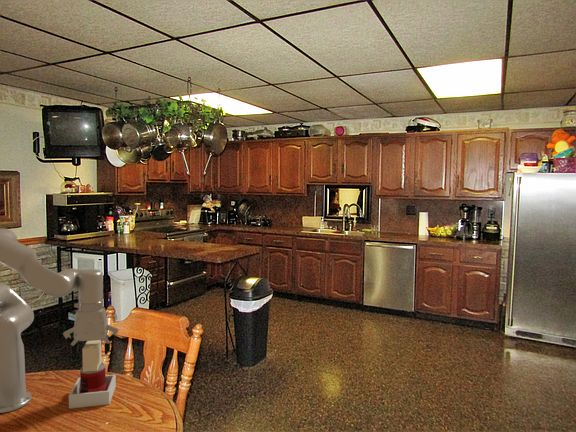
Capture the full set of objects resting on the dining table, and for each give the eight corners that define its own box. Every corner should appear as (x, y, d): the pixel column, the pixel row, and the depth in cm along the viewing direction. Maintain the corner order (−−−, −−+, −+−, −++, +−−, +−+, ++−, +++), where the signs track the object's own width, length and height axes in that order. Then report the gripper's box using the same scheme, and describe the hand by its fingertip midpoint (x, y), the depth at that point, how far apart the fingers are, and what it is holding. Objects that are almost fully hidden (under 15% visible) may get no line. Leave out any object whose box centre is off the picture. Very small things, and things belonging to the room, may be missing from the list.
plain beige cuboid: (82, 371, 136) (82, 348, 135) (87, 362, 143) (87, 340, 142) (97, 370, 137) (96, 347, 136) (101, 361, 144) (101, 339, 143)
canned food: (110, 391, 144) (109, 362, 143) (97, 403, 136) (96, 372, 135) (89, 390, 145) (89, 360, 144) (76, 402, 137) (75, 371, 136)
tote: (69, 408, 133) (68, 395, 133) (79, 389, 145) (78, 377, 145) (109, 404, 136) (109, 391, 136) (115, 386, 148) (115, 374, 148)
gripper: (59, 310, 132) (60, 361, 134) (116, 308, 136) (116, 357, 138) (66, 303, 140) (67, 351, 141) (119, 301, 144) (120, 348, 145)
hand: (91, 354), depth 139 cm, fingers open, 9 cm apart
